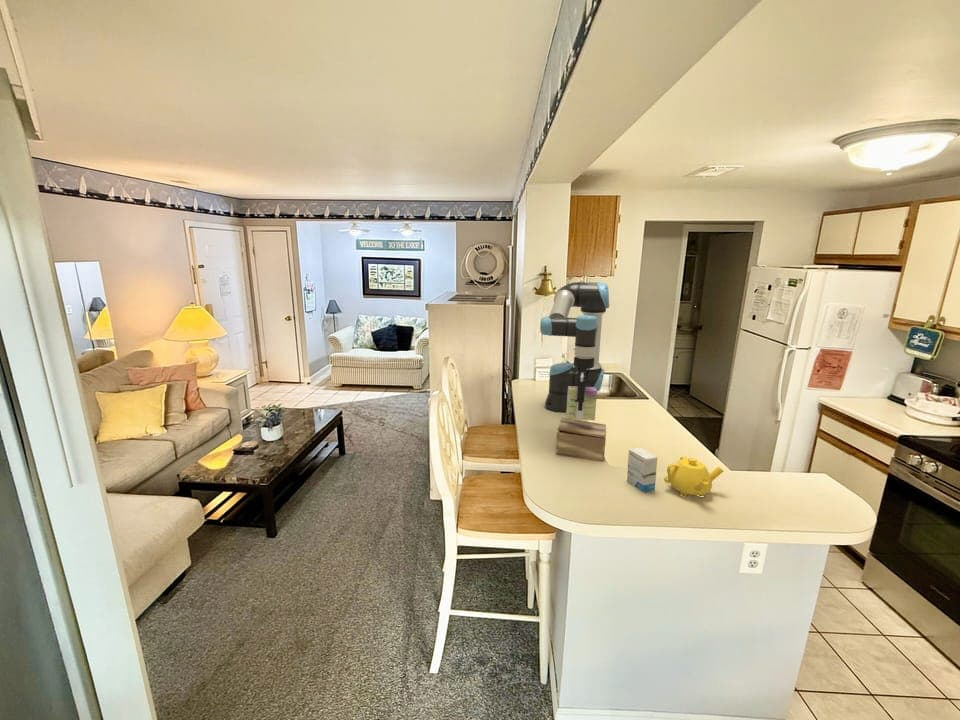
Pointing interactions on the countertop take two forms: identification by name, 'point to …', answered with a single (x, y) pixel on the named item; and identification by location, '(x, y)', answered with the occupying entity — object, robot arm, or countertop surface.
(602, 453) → the brown wooden crate
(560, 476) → the countertop surface
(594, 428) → the lid
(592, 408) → the box
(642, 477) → the ink box
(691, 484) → the teapot
